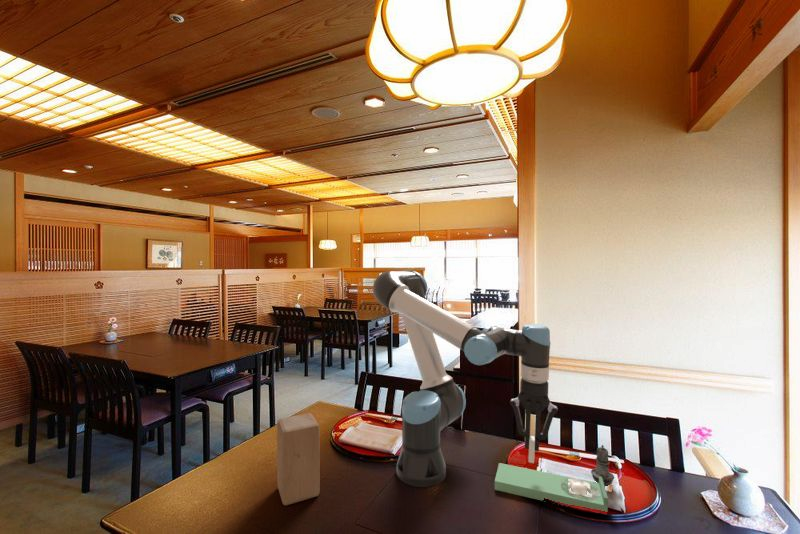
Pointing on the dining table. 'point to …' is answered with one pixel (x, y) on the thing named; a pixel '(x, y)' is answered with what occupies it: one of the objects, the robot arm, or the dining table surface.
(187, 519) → the dining table surface
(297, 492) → the wooden block
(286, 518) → the dining table surface
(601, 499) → the green flat block
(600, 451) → the dark grey figurine
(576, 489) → the ball
